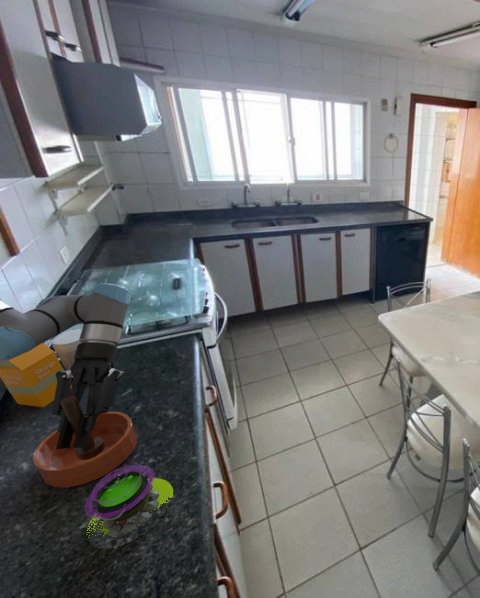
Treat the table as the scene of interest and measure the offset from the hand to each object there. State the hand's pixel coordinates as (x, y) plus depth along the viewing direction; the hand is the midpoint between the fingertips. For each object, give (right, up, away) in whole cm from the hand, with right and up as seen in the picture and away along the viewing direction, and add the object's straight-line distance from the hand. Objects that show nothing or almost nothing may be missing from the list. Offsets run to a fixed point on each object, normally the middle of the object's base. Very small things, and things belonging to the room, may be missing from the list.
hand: (71, 447), depth 73 cm
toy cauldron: (+16, -13, -2) cm, 21 cm away
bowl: (-3, -6, +9) cm, 11 cm away
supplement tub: (-30, +8, +36) cm, 48 cm away
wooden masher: (-1, -3, +6) cm, 7 cm away
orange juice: (-31, +3, +25) cm, 40 cm away
